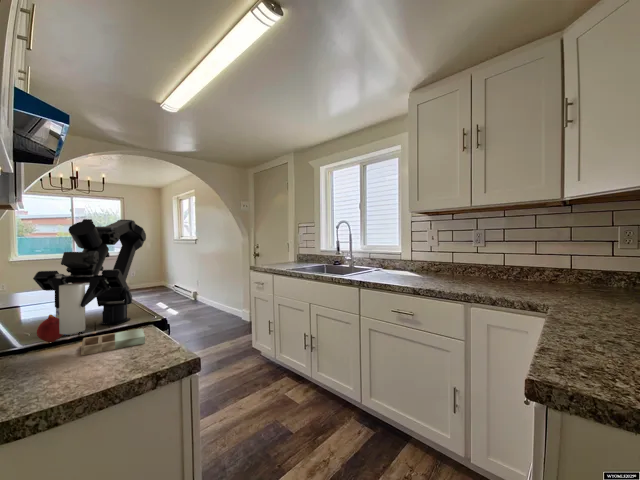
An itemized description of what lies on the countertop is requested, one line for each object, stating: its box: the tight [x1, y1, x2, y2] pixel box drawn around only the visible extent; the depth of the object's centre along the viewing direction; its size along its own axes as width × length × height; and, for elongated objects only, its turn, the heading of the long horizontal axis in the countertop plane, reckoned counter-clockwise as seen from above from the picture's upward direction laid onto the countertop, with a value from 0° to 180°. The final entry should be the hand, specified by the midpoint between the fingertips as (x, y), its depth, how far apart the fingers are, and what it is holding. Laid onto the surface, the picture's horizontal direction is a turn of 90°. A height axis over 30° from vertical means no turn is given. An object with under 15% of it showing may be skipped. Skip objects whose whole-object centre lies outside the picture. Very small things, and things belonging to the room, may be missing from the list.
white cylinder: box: [59, 283, 86, 334], centre depth 71 cm, size 5×5×12 cm
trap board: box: [80, 327, 146, 356], centre depth 76 cm, size 14×8×2 cm, turn 128°
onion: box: [36, 314, 64, 344], centre depth 77 cm, size 6×6×8 cm
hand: (69, 306), depth 70 cm, fingers closed on white cylinder, 5 cm apart
